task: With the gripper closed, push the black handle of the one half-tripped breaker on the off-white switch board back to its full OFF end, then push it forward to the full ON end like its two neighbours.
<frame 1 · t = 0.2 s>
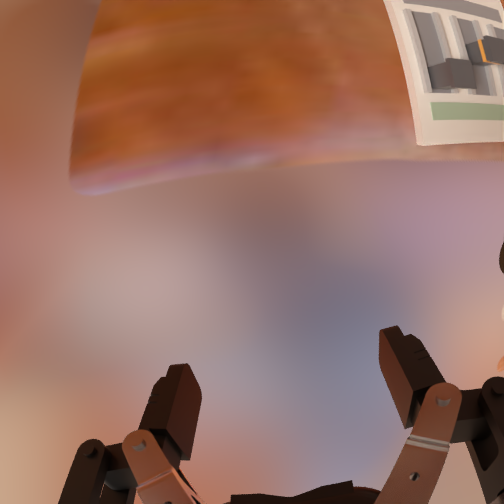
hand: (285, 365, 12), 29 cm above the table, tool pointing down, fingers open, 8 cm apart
switch board: (465, 57, 29), on the table
tripped breaker handle: (486, 52, 24), point 5 cm above the table, slide at 4.0 cm
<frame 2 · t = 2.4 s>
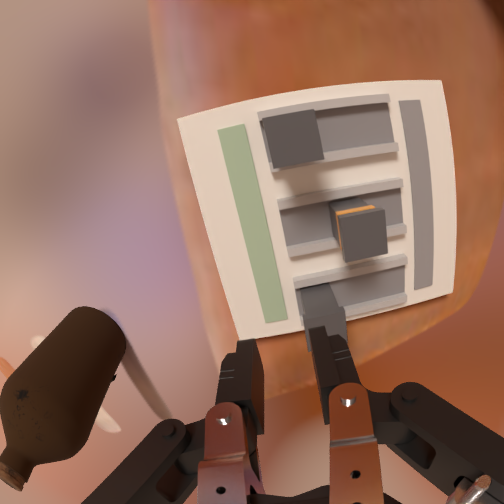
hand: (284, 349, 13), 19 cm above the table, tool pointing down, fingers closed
olive oil: (96, 334, 37), on the table
switch board: (339, 209, 30), on the table
tripped breaker handle: (354, 225, 25), point 5 cm above the table, slide at 4.0 cm
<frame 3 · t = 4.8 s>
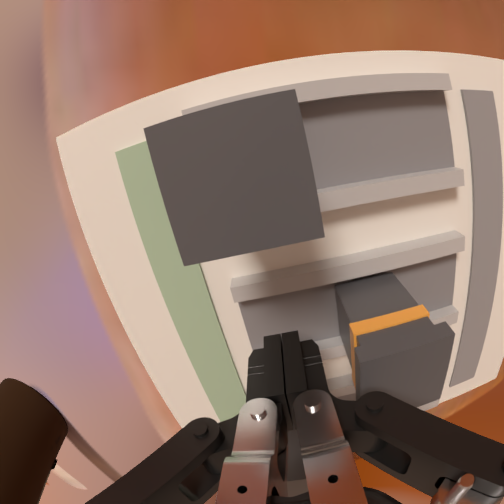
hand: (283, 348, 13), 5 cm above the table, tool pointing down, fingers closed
olive oil: (34, 407, 24), on the table
switch board: (348, 282, 17), on the table
tripped breaker handle: (383, 338, 12), point 5 cm above the table, slide at 3.7 cm, touching gripper
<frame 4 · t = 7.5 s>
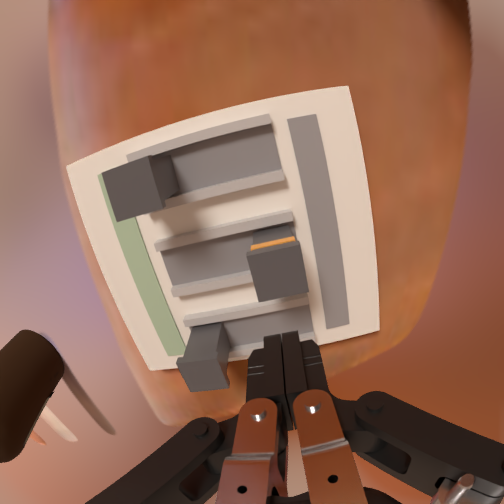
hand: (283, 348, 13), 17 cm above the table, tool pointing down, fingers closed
olive oil: (40, 354, 36), on the table
switch board: (230, 245, 29), on the table
tripped breaker handle: (276, 258, 23), point 5 cm above the table, slide at 0.0 cm
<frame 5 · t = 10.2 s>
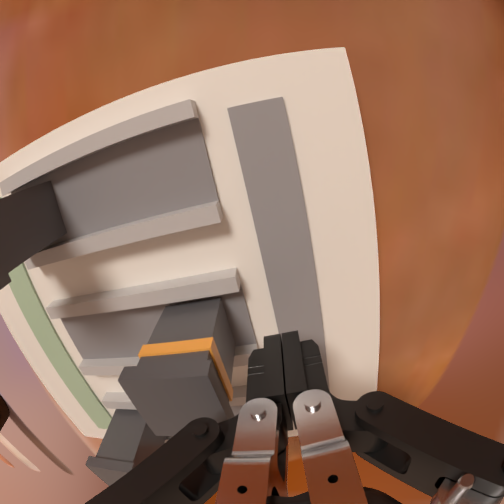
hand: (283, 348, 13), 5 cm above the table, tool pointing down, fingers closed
switch board: (156, 309, 18), on the table
tripped breaker handle: (190, 362, 13), point 5 cm above the table, slide at 0.6 cm, touching gripper
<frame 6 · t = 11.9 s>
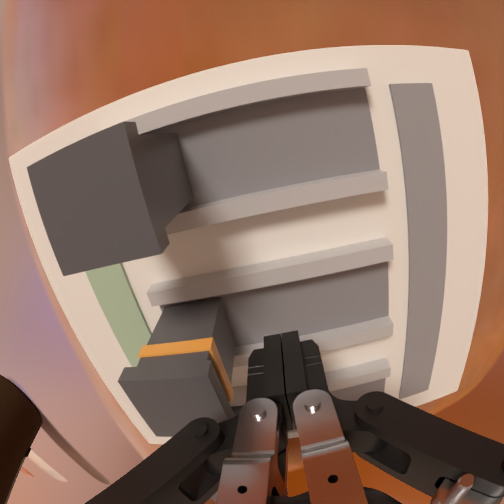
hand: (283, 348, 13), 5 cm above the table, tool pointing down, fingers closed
olive oil: (13, 399, 25), on the table
switch board: (275, 289, 18), on the table
tripped breaker handle: (190, 363, 13), point 5 cm above the table, slide at 8.1 cm, touching gripper
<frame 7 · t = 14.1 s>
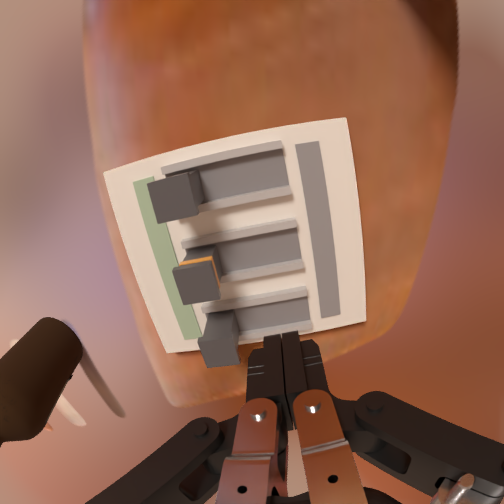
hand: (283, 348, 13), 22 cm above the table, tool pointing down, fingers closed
olive oil: (59, 340, 41), on the table
switch board: (243, 245, 35), on the table
tripped breaker handle: (201, 272, 30), point 5 cm above the table, slide at 8.0 cm
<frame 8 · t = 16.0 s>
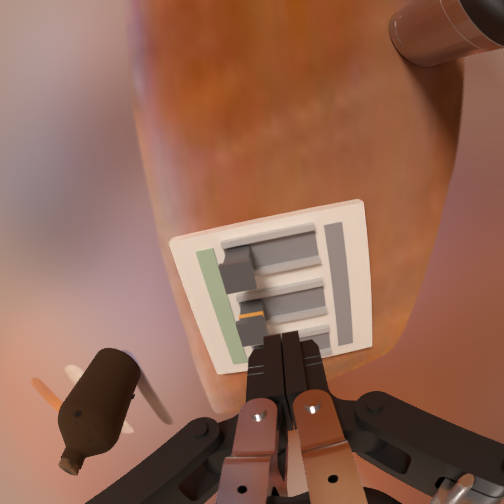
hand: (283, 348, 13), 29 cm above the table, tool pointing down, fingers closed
olive oil: (118, 365, 52), on the table
switch board: (281, 295, 45), on the table
tripped breaker handle: (253, 321, 40), point 5 cm above the table, slide at 8.0 cm
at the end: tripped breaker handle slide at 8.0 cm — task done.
